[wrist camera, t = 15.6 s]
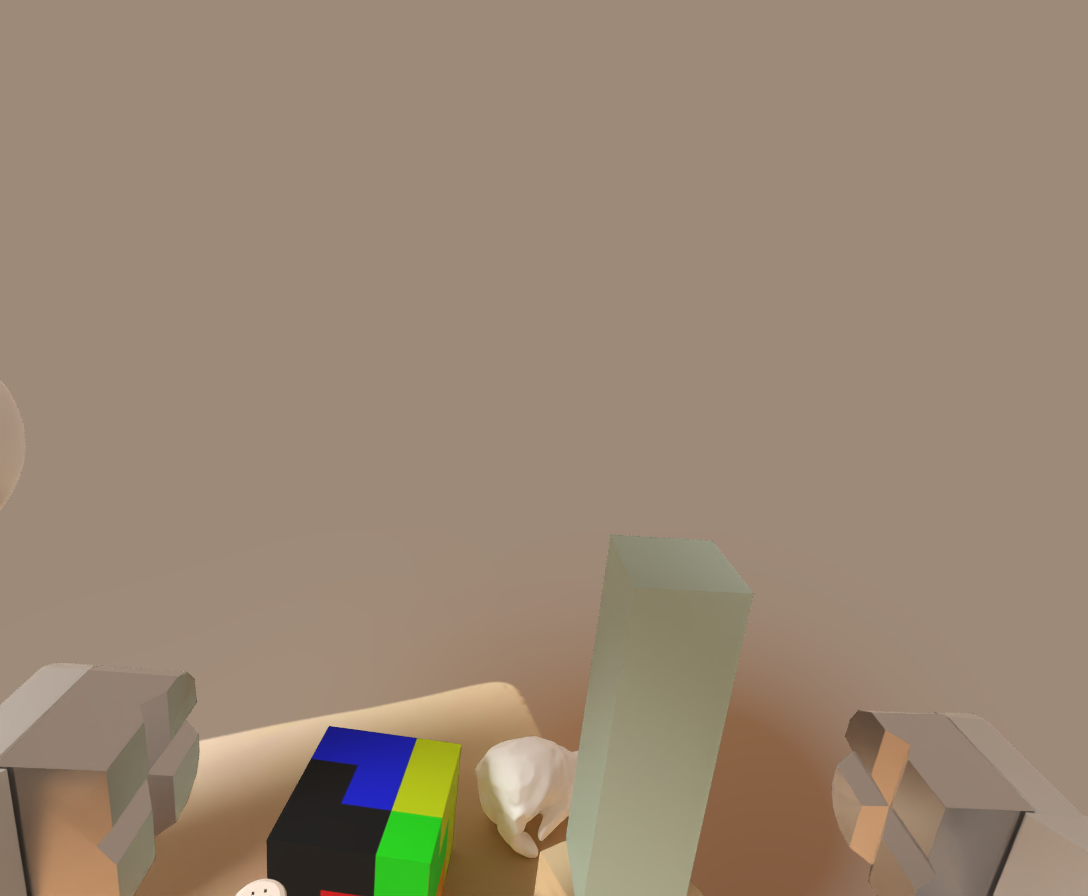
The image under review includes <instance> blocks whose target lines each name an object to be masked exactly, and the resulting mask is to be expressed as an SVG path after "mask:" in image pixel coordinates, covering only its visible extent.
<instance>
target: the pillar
mask: <svg viewBox="0 0 1088 896" xmlns="http://www.w3.org/2000/svg"><path fill="white" fill-rule="evenodd" d="M752 598H753V592H752V591H751V590H750V588H749V587H748V586H747V585H746V583H745V582H744V581H743V579H742V578H741V577H740V576H739V574H738V573H737V572H736V570H735V569H734V568H733V567H732V565H731V564H730V563H729V561H728V560H727V559H726V558H725V556H724V555H723V554H722V552H721V551H720V550H719V549H718V547H717V546H716V545H715V543H714V542H713V541H708V540H690V539H673V538H657V537H640V536H622V535H610V542H609V549H608V555H607V563H606V569H605V576H604V582H603V589H602V596H601V603H600V609H599V616H598V623H597V630H596V636H595V643H594V650H593V657H592V663H591V670H590V677H589V684H588V691H587V697H586V704H585V711H584V717H583V724H582V731H581V738H580V744H579V751H578V758H577V765H576V772H575V778H574V785H573V792H572V799H571V805H570V812H569V819H568V826H567V832H566V842H567V848H568V855H569V862H570V869H571V875H572V882H573V889H574V896H686V895H687V891H688V886H689V882H690V877H691V873H692V868H693V864H694V859H695V855H696V850H697V845H698V841H699V837H700V832H701V828H702V823H703V819H704V814H705V810H706V805H707V801H708V796H709V792H710V787H711V783H712V778H713V774H714V769H715V765H716V760H717V756H718V751H719V746H720V742H721V737H722V733H723V729H724V724H725V719H726V715H727V711H728V706H729V702H730V697H731V692H732V688H733V684H734V679H735V675H736V670H737V666H738V661H739V657H740V652H741V648H742V643H743V639H744V634H745V630H746V625H747V621H748V616H749V612H750V607H751V603H752Z"/></svg>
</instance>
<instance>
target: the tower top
mask: <svg viewBox="0 0 1088 896" xmlns="http://www.w3.org/2000/svg"><path fill="white" fill-rule="evenodd" d="M534 896H574V889H573V882H572V875H571V869H570V862H569V855H568V848H567V842H566V841H563V842H561V843H559V844H557V845H554V846H552V847H550V848H547V849H545V850H543V851H541V852H540V854H539V862H538V869H537V877H536V884H535V891H534ZM686 896H704V895H703V894H702V893H701V891H700V890H699V889H698V888H697V887H696V886H695V884H694V883H693V882H692V881H691V879H690V882H689V886H688V891H687V895H686Z"/></svg>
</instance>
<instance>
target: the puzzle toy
mask: <svg viewBox="0 0 1088 896" xmlns="http://www.w3.org/2000/svg"><path fill="white" fill-rule="evenodd" d="M460 754H461V744H456V743H448V742H441V741H434V740H426V739H419V738H412V737H405V736H397V735H390V734H383V733H376V732H368V731H361V730H354V729H347V728H339V727H332V726H329V727H328V729H327V731H326V733H325V734H324V736H323V738H322V740H321V742H320V744H319V745H318V747H317V749H316V751H315V753H314V754H313V756H312V758H311V760H310V762H309V764H308V765H307V767H306V769H305V771H304V773H303V775H302V776H301V778H300V780H299V782H298V784H297V786H296V787H295V789H294V791H293V793H292V795H291V797H290V798H289V800H288V802H287V804H286V806H285V807H284V809H283V811H282V813H281V815H280V817H279V818H278V820H277V822H276V824H275V826H274V828H273V829H272V831H271V833H270V835H269V837H268V839H267V879H272V880H276V881H278V882H280V883H281V884H282V885H283V886H284V888H285V890H286V894H287V896H441V895H442V891H443V886H444V882H445V878H446V873H447V869H448V865H449V860H450V856H451V852H452V846H453V834H454V823H455V811H456V800H457V788H458V777H459V765H460Z"/></svg>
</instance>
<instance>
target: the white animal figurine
mask: <svg viewBox="0 0 1088 896" xmlns="http://www.w3.org/2000/svg"><path fill="white" fill-rule="evenodd" d="M577 758H578V751H574V752H571V751H568V750H567V749H566V748H564V747H563V746H560V745H559V746H558V745H557V744H556V743H555V742H553V741H550V740H547V739H542V738H540V737H537V736H528V737H522V738H517V739H512V740H507V741H504V742H501V743H499V744H497V745H495V746H493V747H492V748H490V749H489V750H488V752H487V753H486V754H485V756H484V757H483V759H481V760H480V761H479V763H478V764H477V766H476V769H475V774H476V776H477V781H478V794H479V798H480V803H481V807H482V808H483V812H484V813H485V814H486V815H487V816H488V817H489V818H490V820H491V821H492V822H494V823H495V824H497V829H498V831H499V833H500V835H501V836H502V837H503V839H504V840H505V841H506V842H507V843H508V844H509V845H510V846H511V848H512V849H513V850H514V851H516V852H517V853H519V854H521V855H523V856H525V857H527V858H528V857H529V858H535V857H537V856H538V848H537V846H536V844H535V842H534V841H533V839H532V838H531V836H530V835H529V834H528V833H527V832H525V831H523V830H524V829H525V827H526V824H527V822H529V821H530V820H532V818H533V817H535V816H536V815H537V814H542V815H543V819H542V822H541V824H540V827H539V830H538V838H539V840H540V841H543V840H544V839H545V838H546V837H547V836H548V835H549V834H550V833H551V832H552V831H553V830H554V829H555V828H556V827H557V826H558V825H559V824H560V823H561V822H562V821H563V820H564V819H566V818H567V817H568V816H569V812H570V805H571V799H572V792H573V785H574V778H575V772H576V765H577Z"/></svg>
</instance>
